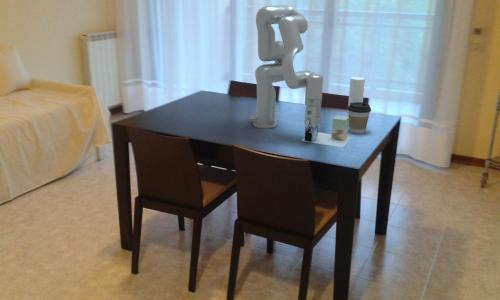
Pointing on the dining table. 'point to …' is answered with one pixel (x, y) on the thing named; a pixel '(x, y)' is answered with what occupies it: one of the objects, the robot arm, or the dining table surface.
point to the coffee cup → (358, 116)
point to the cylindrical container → (356, 91)
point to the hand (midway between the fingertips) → (311, 137)
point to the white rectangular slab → (329, 140)
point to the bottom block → (339, 134)
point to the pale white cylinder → (314, 134)
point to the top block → (340, 123)
